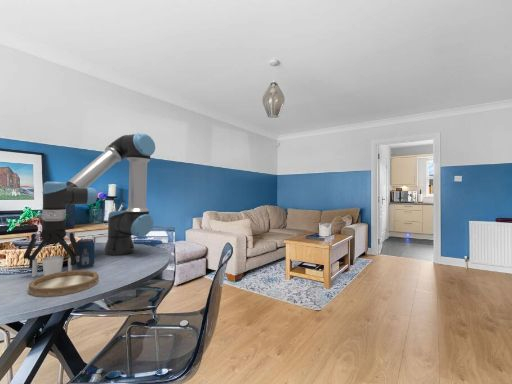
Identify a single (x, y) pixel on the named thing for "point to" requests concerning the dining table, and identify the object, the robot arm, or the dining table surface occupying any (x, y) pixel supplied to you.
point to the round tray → (63, 283)
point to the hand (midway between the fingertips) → (52, 274)
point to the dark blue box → (85, 253)
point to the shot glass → (52, 264)
